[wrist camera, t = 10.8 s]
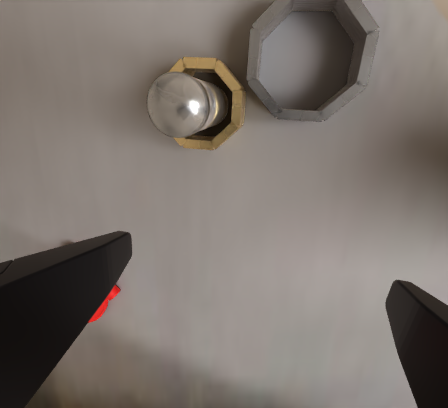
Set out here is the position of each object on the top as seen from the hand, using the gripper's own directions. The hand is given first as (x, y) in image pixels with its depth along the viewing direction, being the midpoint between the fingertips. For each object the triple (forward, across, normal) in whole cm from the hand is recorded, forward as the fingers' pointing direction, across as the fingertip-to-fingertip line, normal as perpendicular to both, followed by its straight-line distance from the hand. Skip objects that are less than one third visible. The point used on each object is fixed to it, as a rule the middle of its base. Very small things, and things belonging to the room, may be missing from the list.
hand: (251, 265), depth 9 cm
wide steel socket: (+13, -1, -8) cm, 15 cm away
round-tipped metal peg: (+12, +5, -5) cm, 14 cm away
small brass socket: (+12, +5, -5) cm, 14 cm away
